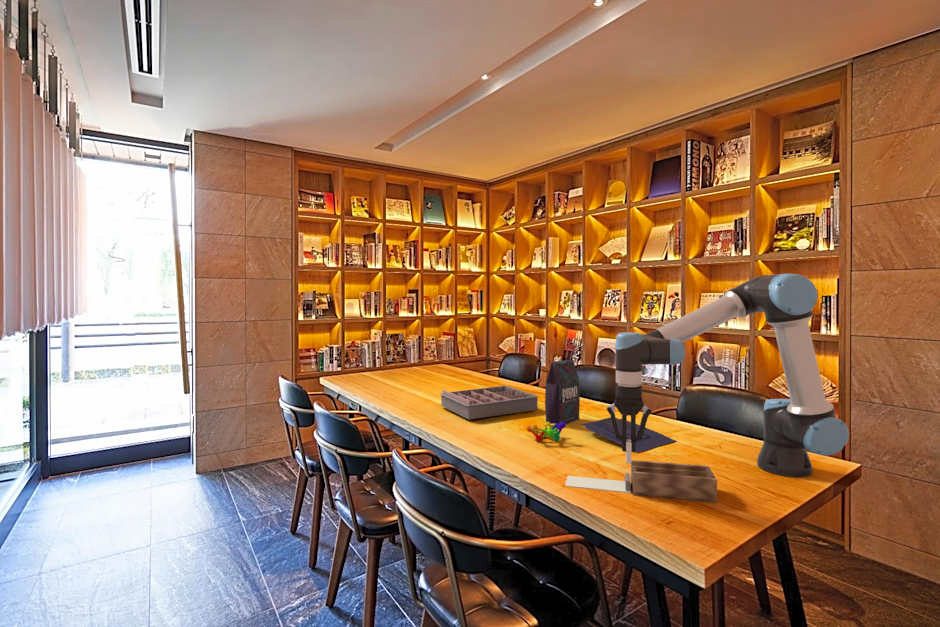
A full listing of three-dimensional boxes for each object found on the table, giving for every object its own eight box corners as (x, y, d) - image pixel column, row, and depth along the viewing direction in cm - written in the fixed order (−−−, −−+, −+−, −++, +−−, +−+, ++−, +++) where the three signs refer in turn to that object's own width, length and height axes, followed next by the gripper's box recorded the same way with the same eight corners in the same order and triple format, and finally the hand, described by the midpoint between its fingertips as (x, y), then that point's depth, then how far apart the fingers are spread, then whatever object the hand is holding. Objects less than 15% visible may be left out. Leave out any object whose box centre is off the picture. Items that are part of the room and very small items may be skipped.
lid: (630, 484, 147) (630, 472, 147) (631, 494, 139) (631, 482, 139) (567, 478, 153) (567, 466, 152) (565, 488, 145) (565, 475, 145)
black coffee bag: (580, 420, 220) (580, 359, 219) (559, 427, 209) (558, 363, 208) (565, 416, 226) (565, 358, 225) (544, 423, 215) (543, 361, 214)
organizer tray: (539, 412, 236) (539, 392, 236) (467, 423, 218) (467, 401, 217) (505, 399, 264) (505, 382, 264) (439, 408, 246) (439, 389, 246)
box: (708, 487, 143) (708, 465, 143) (716, 502, 132) (717, 479, 132) (630, 480, 149) (631, 459, 149) (633, 494, 138) (633, 472, 138)
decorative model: (525, 425, 197) (560, 416, 197) (531, 447, 195) (566, 437, 195) (527, 426, 184) (564, 415, 185) (533, 449, 183) (571, 438, 183)
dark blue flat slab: (615, 421, 212) (616, 414, 211) (676, 447, 187) (677, 438, 187) (576, 431, 199) (577, 422, 198) (636, 460, 174) (637, 450, 173)
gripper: (650, 382, 144) (650, 459, 145) (606, 381, 148) (605, 456, 149) (653, 387, 137) (652, 468, 138) (606, 385, 141) (606, 464, 142)
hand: (628, 462), depth 143 cm, fingers closed
